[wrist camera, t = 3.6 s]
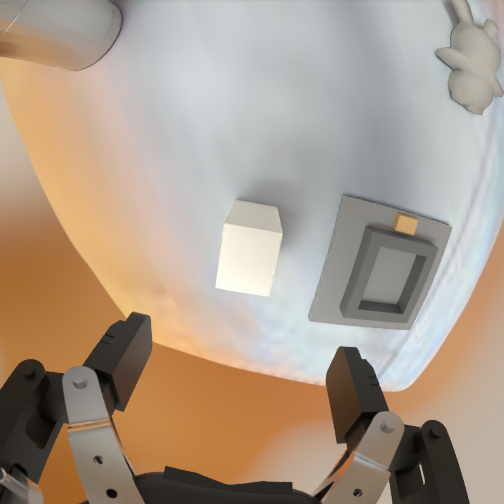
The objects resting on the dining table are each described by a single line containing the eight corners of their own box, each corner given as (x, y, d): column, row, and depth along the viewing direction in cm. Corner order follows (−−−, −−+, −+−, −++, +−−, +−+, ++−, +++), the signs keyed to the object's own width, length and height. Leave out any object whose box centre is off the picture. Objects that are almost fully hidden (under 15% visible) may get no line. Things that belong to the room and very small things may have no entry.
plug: (228, 248, 28) (215, 287, 20) (235, 199, 26) (224, 223, 18) (267, 254, 28) (268, 296, 20) (277, 207, 26) (283, 233, 18)
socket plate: (308, 315, 30) (312, 332, 28) (342, 194, 25) (352, 200, 22) (406, 325, 31) (415, 339, 28) (447, 224, 25) (462, 233, 23)
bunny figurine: (448, 85, 16) (457, -18, 9) (423, 86, 21) (436, -7, 14) (504, 128, 17) (513, 30, 10) (478, 122, 21) (490, 33, 14)
